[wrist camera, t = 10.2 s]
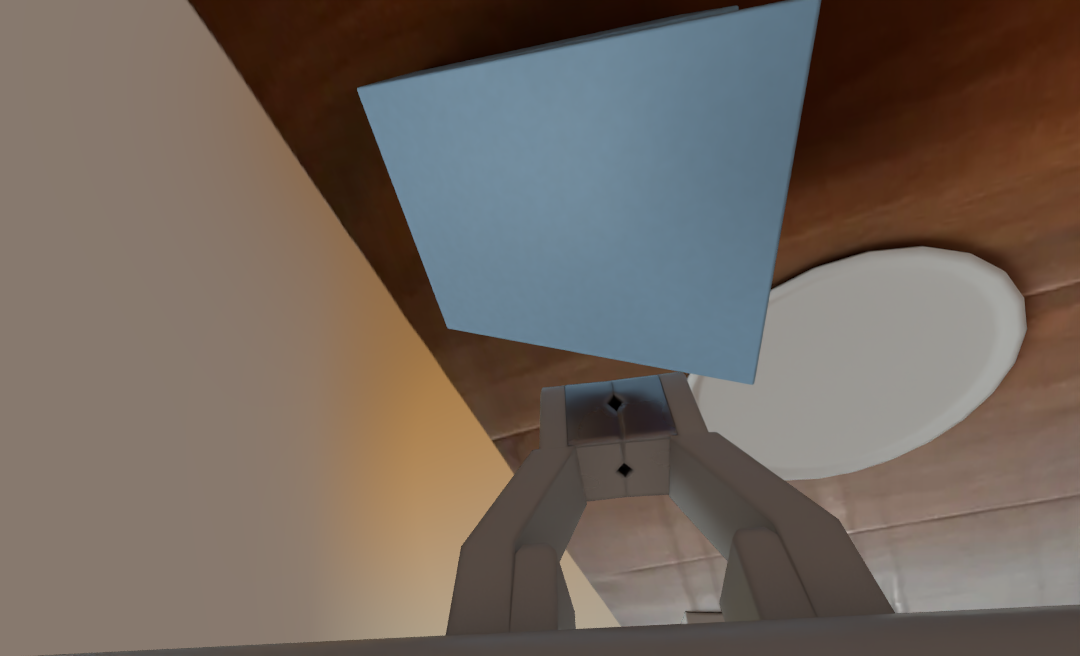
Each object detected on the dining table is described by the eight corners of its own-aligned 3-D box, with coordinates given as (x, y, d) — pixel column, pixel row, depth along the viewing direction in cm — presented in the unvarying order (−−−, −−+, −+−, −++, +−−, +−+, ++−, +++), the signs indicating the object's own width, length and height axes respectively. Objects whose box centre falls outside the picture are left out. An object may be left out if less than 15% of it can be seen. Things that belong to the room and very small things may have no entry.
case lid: (821, -7, 10) (822, -7, 10) (755, 373, 17) (753, 386, 17) (369, 84, 18) (355, 87, 17) (455, 321, 25) (447, 328, 25)
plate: (619, 377, 40) (621, 386, 39) (962, 157, 27) (978, 162, 26) (763, 501, 52) (767, 510, 51) (1047, 385, 39) (1061, 395, 38)
